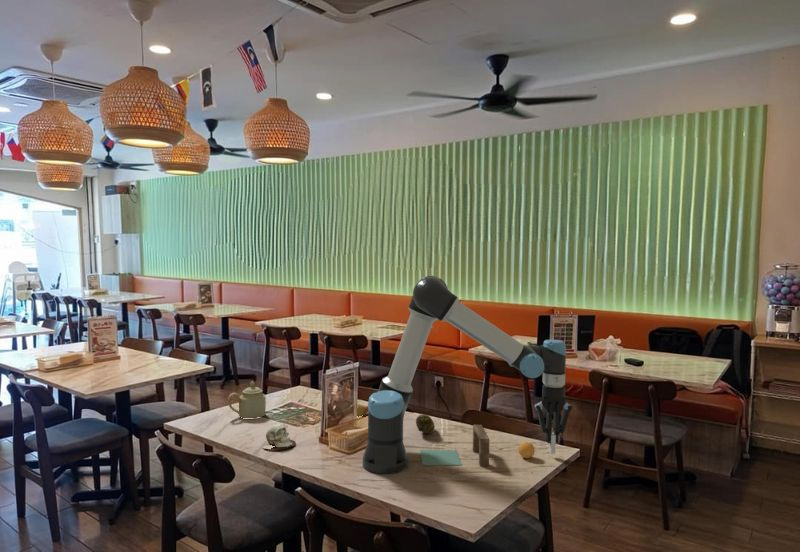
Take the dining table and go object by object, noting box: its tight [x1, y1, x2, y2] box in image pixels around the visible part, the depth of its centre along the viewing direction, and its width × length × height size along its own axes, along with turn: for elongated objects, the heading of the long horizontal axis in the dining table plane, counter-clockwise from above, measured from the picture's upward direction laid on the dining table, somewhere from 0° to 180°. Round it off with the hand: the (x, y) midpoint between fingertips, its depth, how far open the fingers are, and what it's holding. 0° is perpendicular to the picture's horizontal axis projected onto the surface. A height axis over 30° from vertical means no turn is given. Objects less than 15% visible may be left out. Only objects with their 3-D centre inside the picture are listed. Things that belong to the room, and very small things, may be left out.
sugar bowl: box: [227, 380, 267, 419], centre depth 223 cm, size 15×11×15 cm
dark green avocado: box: [415, 414, 436, 434], centre depth 206 cm, size 8×13×8 cm, turn 152°
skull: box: [265, 423, 297, 451], centre depth 191 cm, size 12×10×10 cm
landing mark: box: [419, 449, 463, 466], centre depth 181 cm, size 13×13×1 cm
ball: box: [518, 441, 536, 459], centre depth 182 cm, size 6×6×6 cm
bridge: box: [472, 424, 490, 467], centre depth 181 cm, size 3×14×9 cm, turn 2°
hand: (551, 452), depth 182 cm, fingers closed
